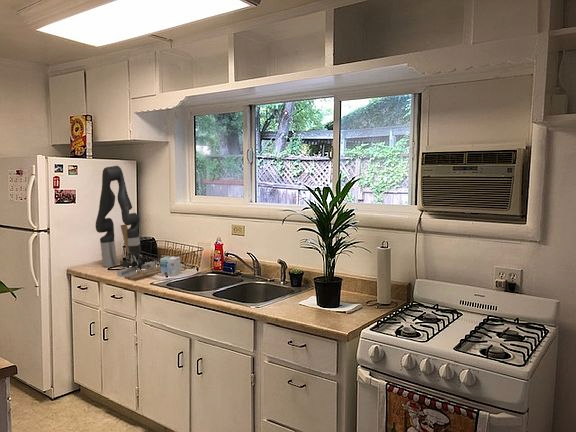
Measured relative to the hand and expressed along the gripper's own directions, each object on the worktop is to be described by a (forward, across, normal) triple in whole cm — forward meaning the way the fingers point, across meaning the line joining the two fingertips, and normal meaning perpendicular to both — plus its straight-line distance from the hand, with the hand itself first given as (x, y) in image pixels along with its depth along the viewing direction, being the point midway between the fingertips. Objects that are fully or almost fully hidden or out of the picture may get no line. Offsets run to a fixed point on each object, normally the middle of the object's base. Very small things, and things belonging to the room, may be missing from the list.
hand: (137, 269), depth 310 cm
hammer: (+2, -13, +5) cm, 14 cm away
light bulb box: (+2, +27, +7) cm, 28 cm away
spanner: (+2, 0, 0) cm, 2 cm away
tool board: (+2, +13, 0) cm, 13 cm away
